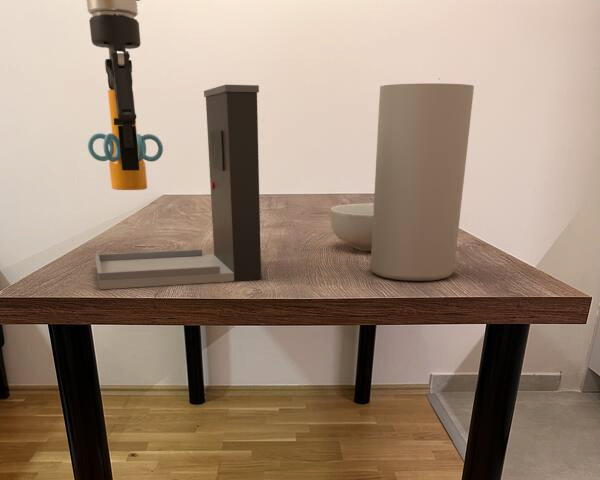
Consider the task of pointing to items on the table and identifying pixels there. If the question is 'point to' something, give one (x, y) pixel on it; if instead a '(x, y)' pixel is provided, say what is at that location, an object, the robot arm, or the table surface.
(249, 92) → the grey l-shaped stand
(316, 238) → the table surface
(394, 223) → the cylinder vase
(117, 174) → the cylinder
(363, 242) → the cereal bowl
